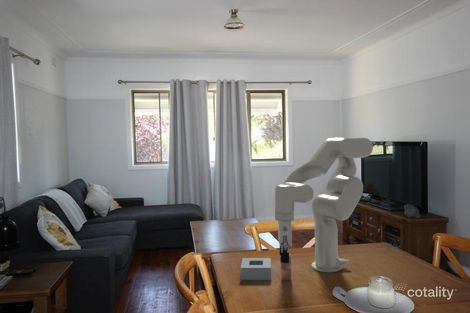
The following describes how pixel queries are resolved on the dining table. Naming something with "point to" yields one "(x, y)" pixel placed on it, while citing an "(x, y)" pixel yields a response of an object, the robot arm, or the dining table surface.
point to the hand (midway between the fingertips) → (284, 258)
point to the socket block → (256, 269)
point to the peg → (286, 270)
